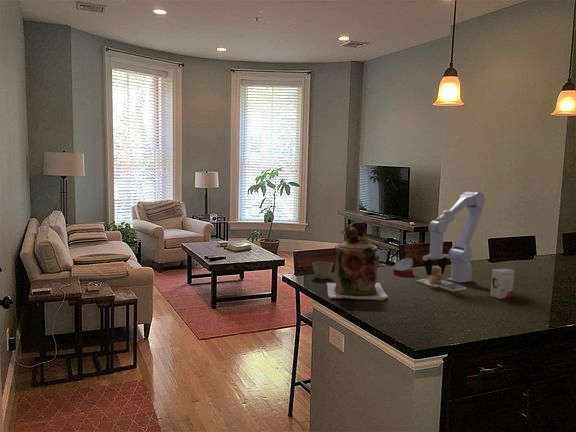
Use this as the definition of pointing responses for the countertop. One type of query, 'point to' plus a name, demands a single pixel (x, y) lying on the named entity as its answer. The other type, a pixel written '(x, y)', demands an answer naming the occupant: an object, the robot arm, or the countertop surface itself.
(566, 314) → the countertop surface
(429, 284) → the marked board
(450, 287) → the ink pad
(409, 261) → the canned food
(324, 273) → the flower pot
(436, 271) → the stamp
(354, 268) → the cookie jar
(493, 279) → the ink box
